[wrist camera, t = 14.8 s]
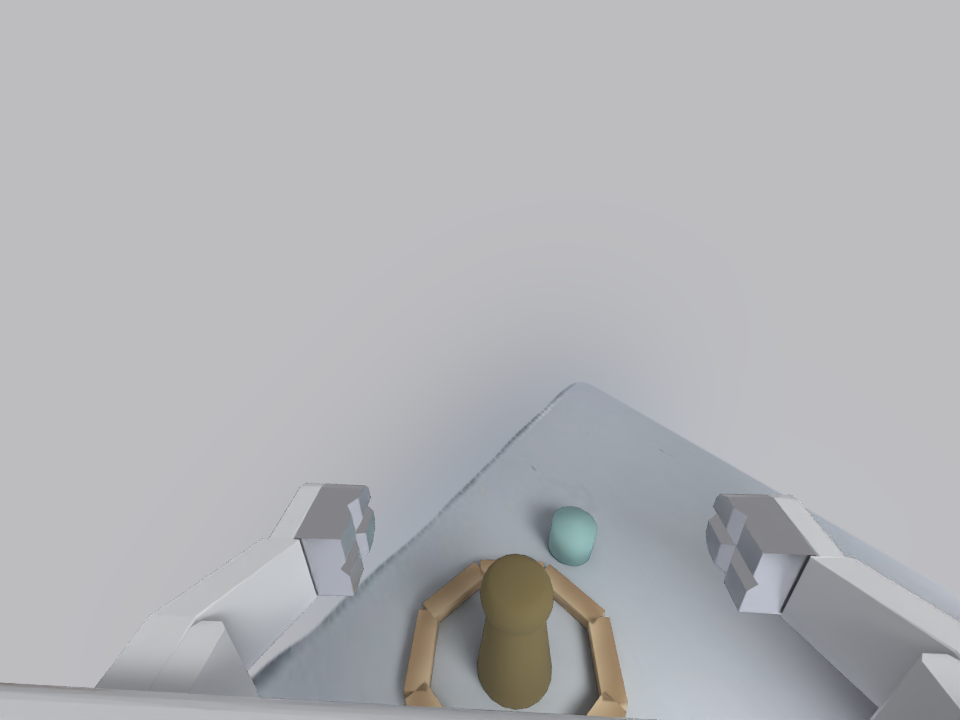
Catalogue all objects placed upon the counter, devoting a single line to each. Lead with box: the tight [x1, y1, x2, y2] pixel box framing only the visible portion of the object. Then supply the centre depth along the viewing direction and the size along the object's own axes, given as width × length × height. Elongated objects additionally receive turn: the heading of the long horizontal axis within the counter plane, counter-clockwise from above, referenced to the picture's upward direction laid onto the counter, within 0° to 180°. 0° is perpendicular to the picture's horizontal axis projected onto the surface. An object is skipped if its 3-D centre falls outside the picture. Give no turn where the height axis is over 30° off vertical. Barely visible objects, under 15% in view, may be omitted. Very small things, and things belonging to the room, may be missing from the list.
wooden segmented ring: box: [404, 560, 628, 718], centre depth 34 cm, size 17×17×1 cm
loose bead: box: [548, 506, 597, 566], centre depth 43 cm, size 4×4×4 cm
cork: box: [477, 554, 554, 710], centre depth 32 cm, size 6×6×11 cm
